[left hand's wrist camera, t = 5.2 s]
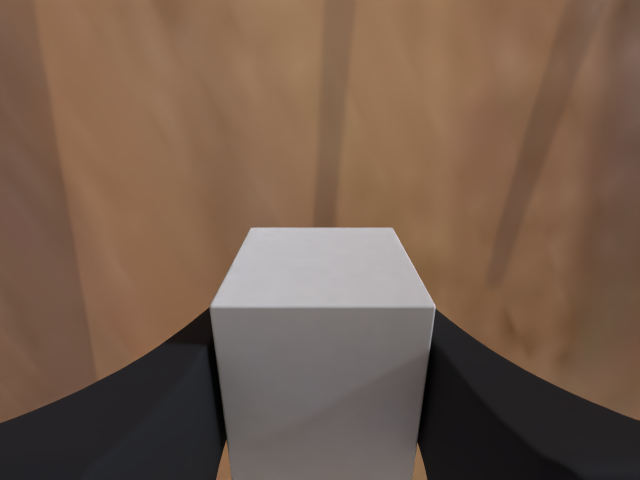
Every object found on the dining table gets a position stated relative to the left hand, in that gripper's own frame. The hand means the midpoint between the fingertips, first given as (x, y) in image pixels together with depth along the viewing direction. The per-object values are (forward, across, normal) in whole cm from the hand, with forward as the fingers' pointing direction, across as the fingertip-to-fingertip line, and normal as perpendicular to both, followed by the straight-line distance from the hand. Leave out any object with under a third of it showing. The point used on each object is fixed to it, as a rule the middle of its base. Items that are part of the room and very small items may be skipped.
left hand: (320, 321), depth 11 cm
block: (+1, 0, 0) cm, 1 cm away
